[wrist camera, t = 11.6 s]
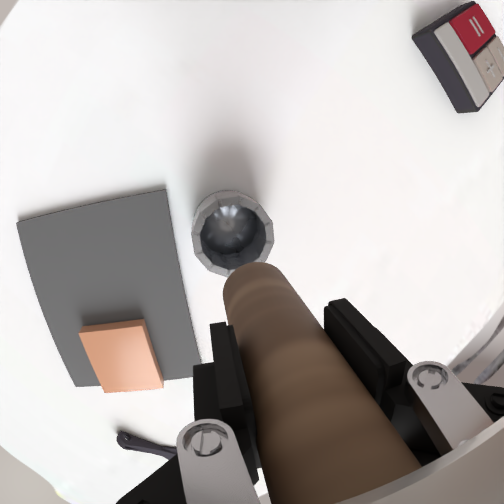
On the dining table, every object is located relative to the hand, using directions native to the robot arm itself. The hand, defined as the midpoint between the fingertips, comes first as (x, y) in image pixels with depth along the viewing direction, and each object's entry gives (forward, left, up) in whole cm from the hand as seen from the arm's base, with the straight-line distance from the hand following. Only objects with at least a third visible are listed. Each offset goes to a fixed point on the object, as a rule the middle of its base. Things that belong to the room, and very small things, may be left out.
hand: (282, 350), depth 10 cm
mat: (+6, -13, -20) cm, 24 cm away
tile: (+8, -13, -18) cm, 24 cm away
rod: (0, 0, -5) cm, 5 cm away
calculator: (-19, +32, -20) cm, 42 cm away
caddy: (0, 0, -20) cm, 20 cm away
